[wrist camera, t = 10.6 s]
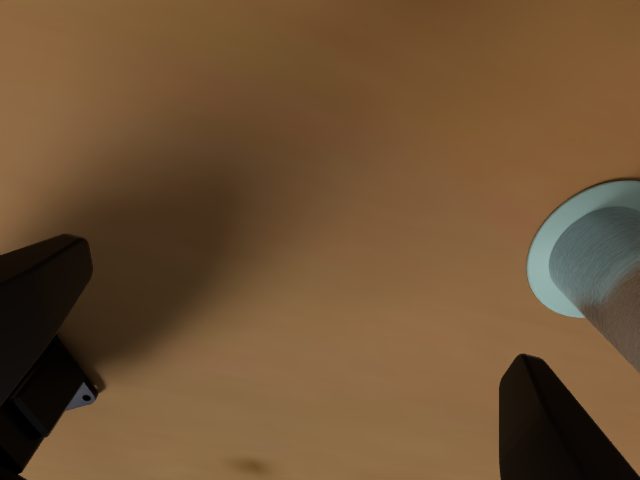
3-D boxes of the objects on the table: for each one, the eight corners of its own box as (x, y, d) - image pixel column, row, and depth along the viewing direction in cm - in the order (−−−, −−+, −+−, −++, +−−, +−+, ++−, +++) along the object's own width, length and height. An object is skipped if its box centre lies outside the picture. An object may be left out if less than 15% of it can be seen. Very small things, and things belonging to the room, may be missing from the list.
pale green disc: (534, 331, 25) (536, 333, 25) (518, 208, 22) (519, 209, 21) (679, 293, 24) (682, 295, 24) (685, 158, 21) (689, 160, 21)
